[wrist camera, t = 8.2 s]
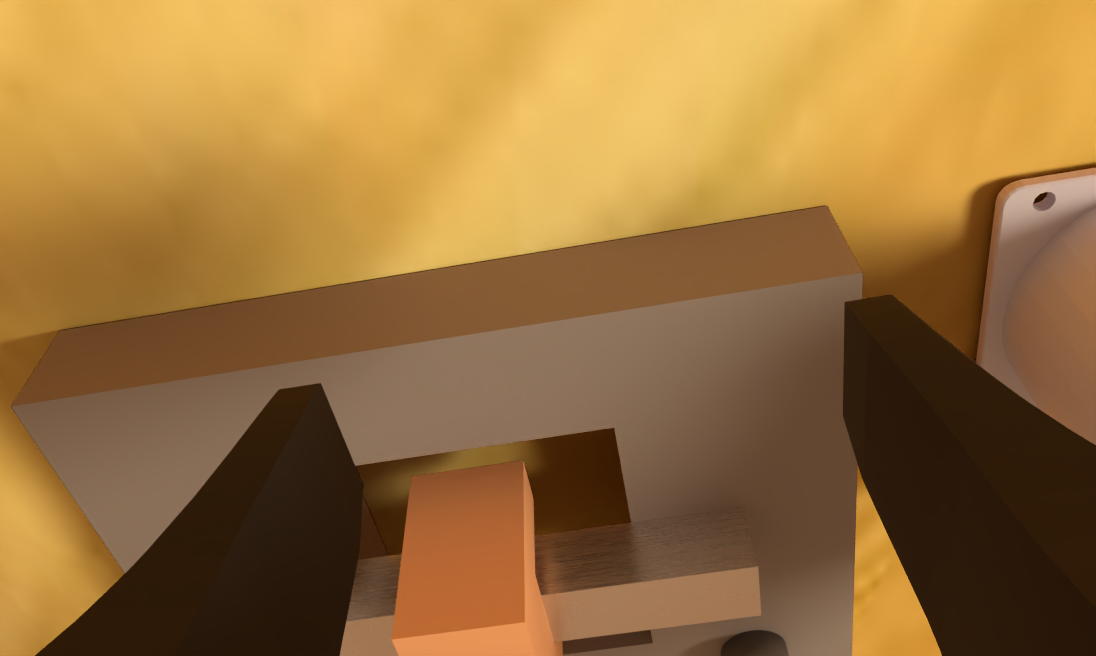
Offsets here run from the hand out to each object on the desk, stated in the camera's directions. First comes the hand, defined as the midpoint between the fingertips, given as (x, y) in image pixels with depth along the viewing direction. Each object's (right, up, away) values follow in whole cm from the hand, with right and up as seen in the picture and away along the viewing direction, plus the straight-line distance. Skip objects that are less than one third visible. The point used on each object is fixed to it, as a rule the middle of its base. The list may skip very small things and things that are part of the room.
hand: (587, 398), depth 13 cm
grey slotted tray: (-2, -4, +16) cm, 16 cm away
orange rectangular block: (-2, -5, +14) cm, 15 cm away
